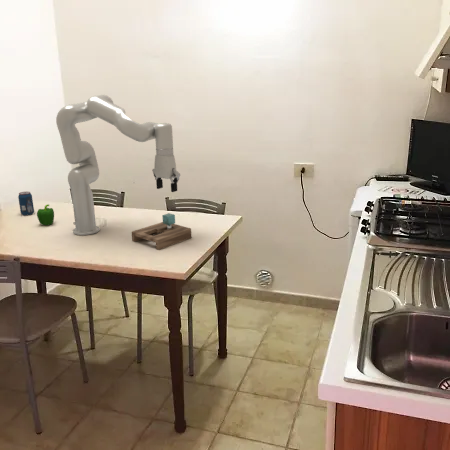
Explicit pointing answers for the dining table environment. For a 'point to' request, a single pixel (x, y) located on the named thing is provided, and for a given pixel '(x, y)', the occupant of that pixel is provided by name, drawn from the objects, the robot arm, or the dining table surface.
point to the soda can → (26, 203)
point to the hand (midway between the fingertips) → (166, 189)
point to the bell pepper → (45, 216)
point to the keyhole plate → (162, 234)
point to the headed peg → (168, 220)
